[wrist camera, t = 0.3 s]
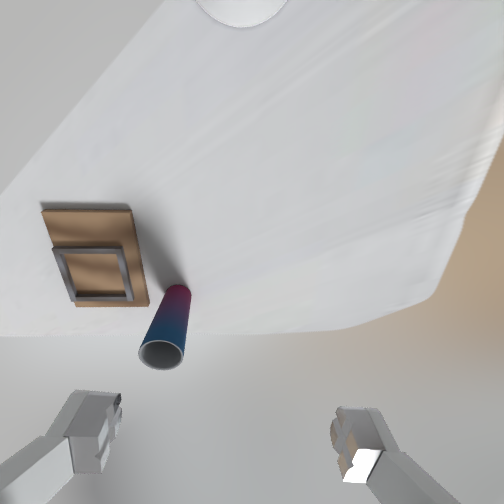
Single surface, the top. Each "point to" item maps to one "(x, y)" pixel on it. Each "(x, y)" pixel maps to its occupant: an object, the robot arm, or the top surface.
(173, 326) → the cup
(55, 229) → the board
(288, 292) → the top surface
